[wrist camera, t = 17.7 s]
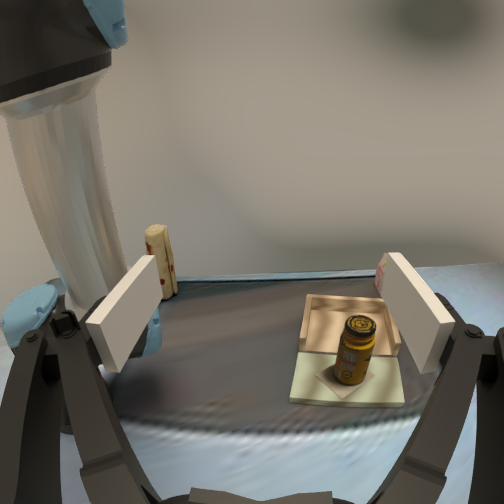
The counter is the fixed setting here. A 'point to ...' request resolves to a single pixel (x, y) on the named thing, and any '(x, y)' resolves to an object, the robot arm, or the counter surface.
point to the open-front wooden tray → (326, 346)
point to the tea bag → (380, 273)
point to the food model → (162, 257)
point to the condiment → (351, 357)
